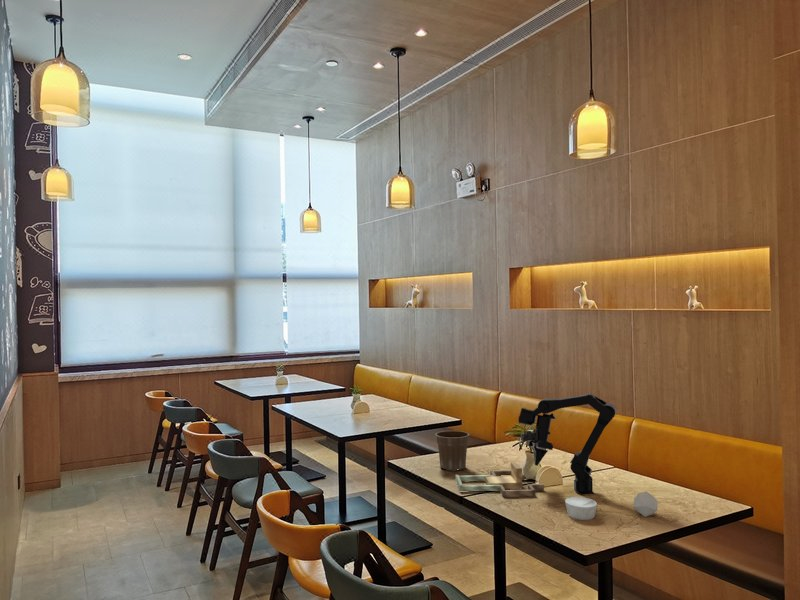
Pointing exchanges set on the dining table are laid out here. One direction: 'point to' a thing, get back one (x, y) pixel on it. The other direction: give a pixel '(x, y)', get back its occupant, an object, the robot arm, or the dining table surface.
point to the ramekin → (581, 508)
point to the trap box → (505, 493)
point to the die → (645, 504)
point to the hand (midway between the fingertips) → (536, 465)
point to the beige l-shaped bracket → (508, 478)
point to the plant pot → (452, 449)
